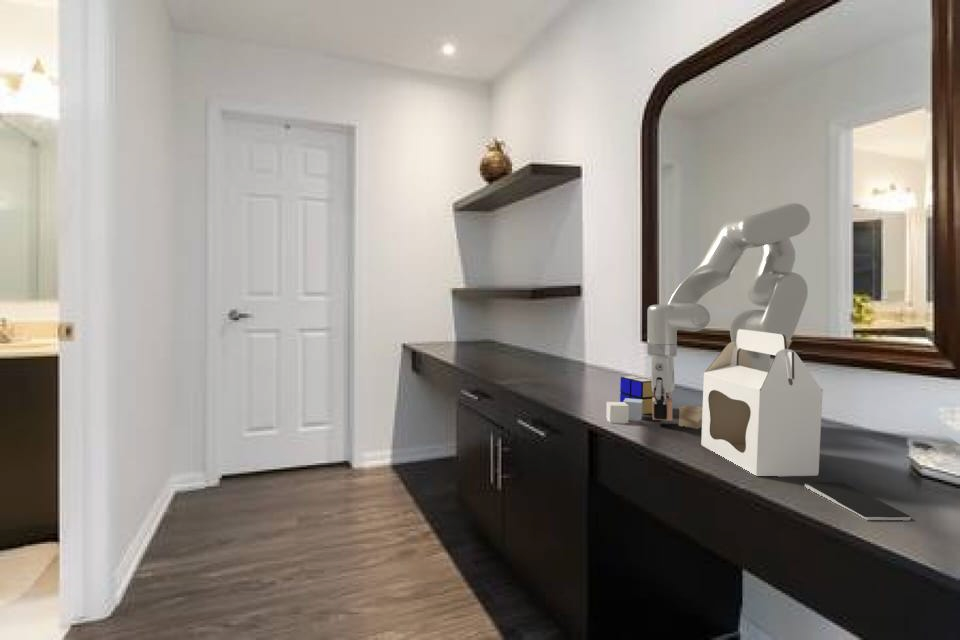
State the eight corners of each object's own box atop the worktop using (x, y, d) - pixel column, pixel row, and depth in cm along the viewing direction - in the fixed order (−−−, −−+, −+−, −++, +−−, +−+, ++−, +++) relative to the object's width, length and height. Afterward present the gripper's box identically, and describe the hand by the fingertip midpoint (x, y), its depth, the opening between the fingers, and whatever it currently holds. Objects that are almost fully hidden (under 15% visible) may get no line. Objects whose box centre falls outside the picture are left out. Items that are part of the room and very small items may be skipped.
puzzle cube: (619, 408, 166) (619, 376, 166) (644, 405, 170) (645, 374, 170) (641, 415, 157) (642, 381, 156) (667, 412, 161) (668, 379, 161)
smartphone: (865, 517, 85) (802, 482, 100) (865, 525, 85) (801, 488, 100) (913, 516, 86) (843, 481, 101) (912, 524, 86) (842, 488, 101)
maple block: (703, 425, 146) (704, 407, 145) (697, 429, 142) (698, 410, 142) (685, 422, 149) (686, 404, 149) (678, 425, 145) (679, 407, 145)
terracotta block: (671, 416, 147) (671, 398, 147) (672, 420, 142) (672, 401, 142) (652, 415, 148) (652, 397, 148) (652, 419, 144) (652, 401, 143)
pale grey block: (623, 419, 152) (624, 402, 151) (628, 423, 147) (628, 405, 146) (606, 419, 152) (606, 401, 152) (610, 423, 147) (610, 405, 147)
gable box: (820, 476, 106) (826, 336, 104) (757, 477, 105) (763, 335, 103) (753, 444, 128) (757, 328, 126) (700, 445, 127) (704, 327, 125)
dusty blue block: (642, 416, 156) (642, 399, 155) (641, 420, 151) (641, 402, 151) (624, 414, 157) (625, 398, 157) (622, 418, 153) (623, 401, 153)
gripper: (672, 354, 135) (672, 425, 136) (680, 347, 150) (680, 410, 151) (642, 353, 138) (642, 422, 139) (652, 346, 154) (652, 408, 155)
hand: (662, 415), depth 145 cm, fingers closed on terracotta block, 5 cm apart
